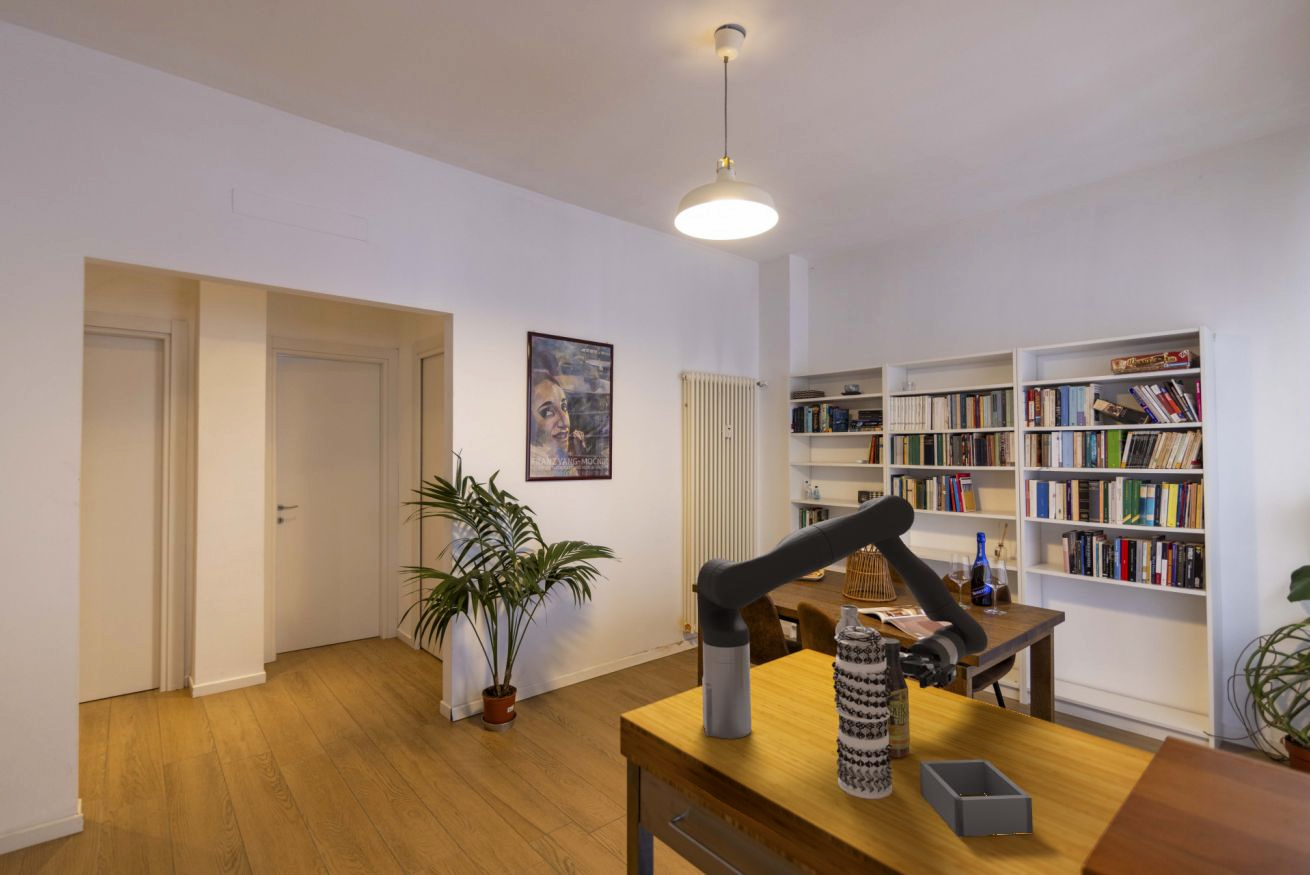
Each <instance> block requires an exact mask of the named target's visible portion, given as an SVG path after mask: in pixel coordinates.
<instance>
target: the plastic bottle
mask: <svg viewBox="0 0 1310 875" xmlns="http://www.w3.org/2000/svg"><path fill="white" fill-rule="evenodd" d="M858 608H859V607H858V606H856V605H851V604H845V605H841V607H840V616H841V618H840V620H839V621H838V622H837V624H836V626H835V629H834V630H835V636H836V635H838V634H839V633H840V631H841V630H842V629H843V628H845V627H848V626H863V624H862V623H861V621H860V620H859V619H858V617H859V612H858V611H859V609H858ZM838 679H839V676H838ZM838 687H839V686H838ZM838 687H837V688H838Z"/></svg>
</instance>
